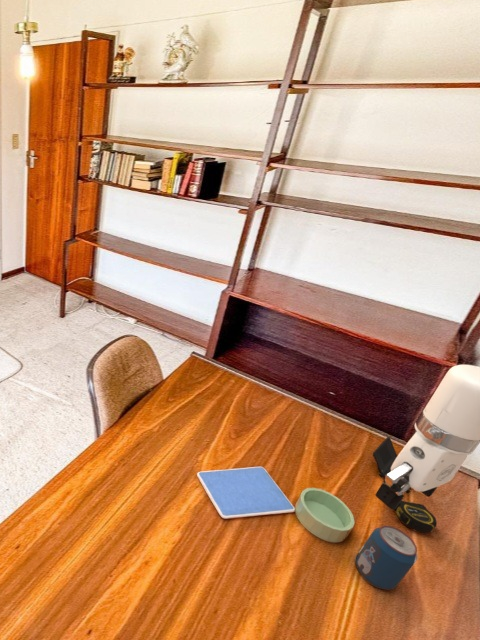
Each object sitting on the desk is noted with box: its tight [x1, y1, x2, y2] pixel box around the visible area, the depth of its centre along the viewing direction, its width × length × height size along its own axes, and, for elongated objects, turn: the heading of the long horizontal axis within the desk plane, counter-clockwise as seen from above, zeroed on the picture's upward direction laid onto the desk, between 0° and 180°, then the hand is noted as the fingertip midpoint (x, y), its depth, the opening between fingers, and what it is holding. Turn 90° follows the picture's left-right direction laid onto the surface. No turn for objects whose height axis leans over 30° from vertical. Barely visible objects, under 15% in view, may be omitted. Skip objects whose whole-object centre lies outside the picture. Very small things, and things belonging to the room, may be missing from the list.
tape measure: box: [393, 500, 438, 534], centre depth 94 cm, size 7×7×4 cm
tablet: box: [196, 466, 295, 520], centre depth 99 cm, size 19×13×1 cm, turn 97°
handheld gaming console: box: [372, 436, 411, 493], centre depth 106 cm, size 12×7×10 cm
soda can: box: [354, 525, 418, 590], centre depth 81 cm, size 7×7×12 cm
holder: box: [294, 487, 355, 544], centre depth 93 cm, size 10×10×4 cm
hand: (402, 496), depth 76 cm, fingers open, 9 cm apart
